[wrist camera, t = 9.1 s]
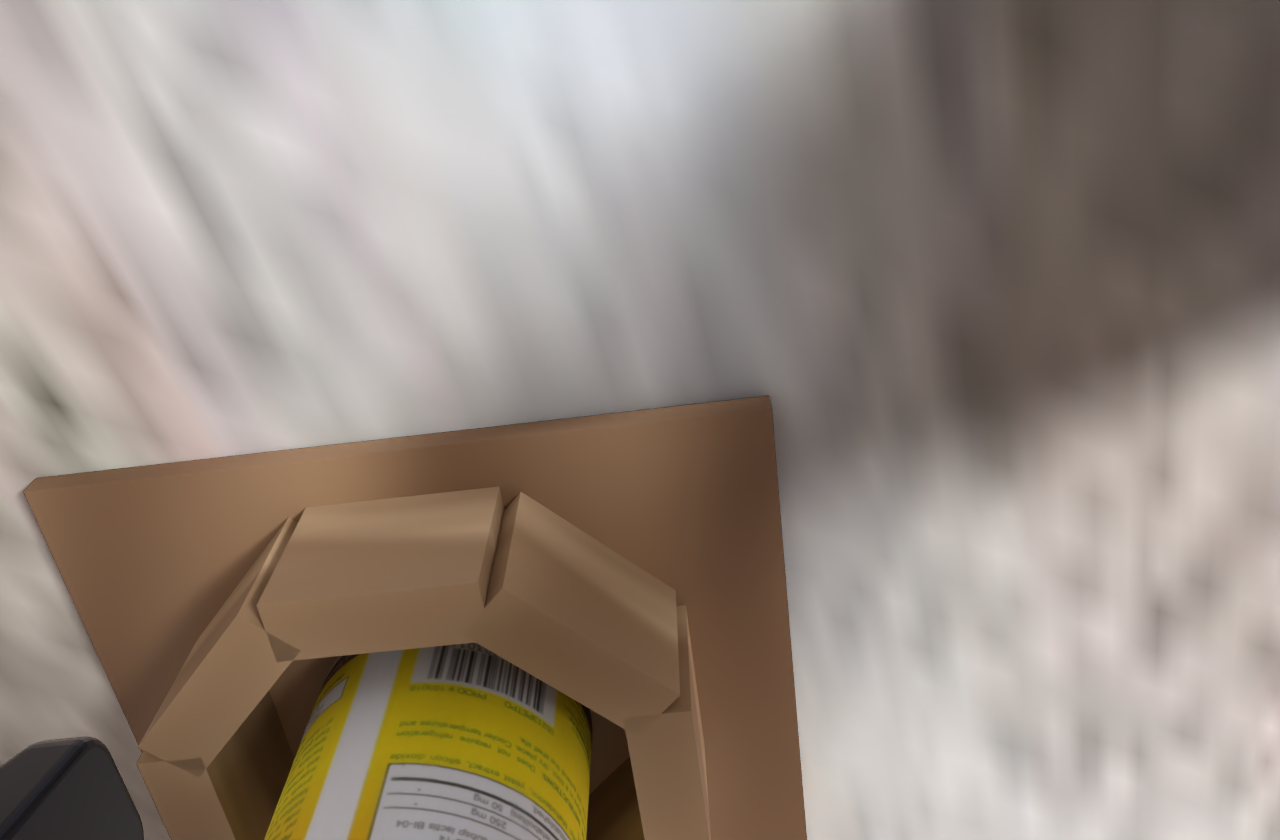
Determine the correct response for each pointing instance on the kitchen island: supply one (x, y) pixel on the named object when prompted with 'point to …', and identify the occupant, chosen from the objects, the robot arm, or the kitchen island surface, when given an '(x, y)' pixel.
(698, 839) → the caddy
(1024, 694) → the kitchen island surface
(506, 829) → the supplement bottle
